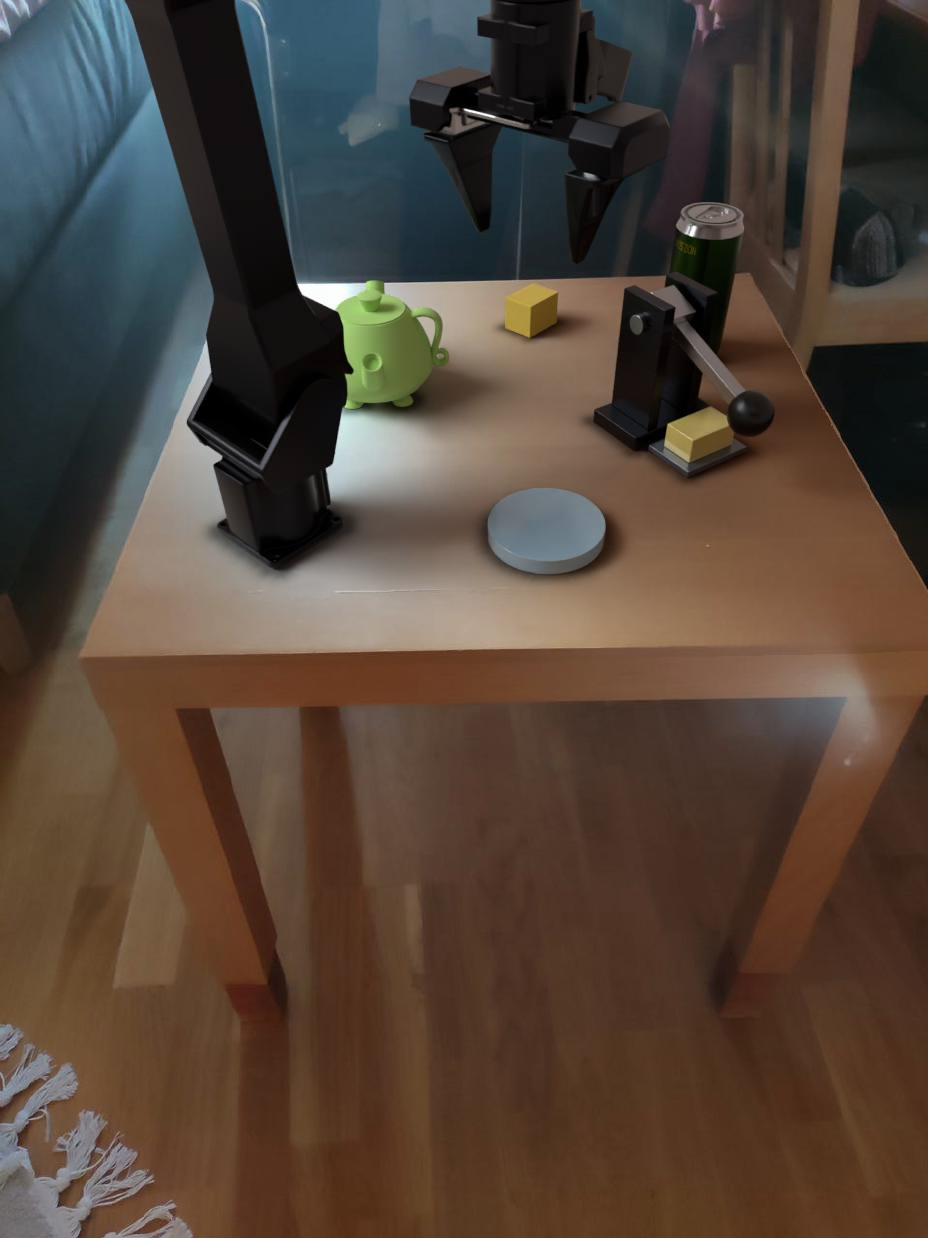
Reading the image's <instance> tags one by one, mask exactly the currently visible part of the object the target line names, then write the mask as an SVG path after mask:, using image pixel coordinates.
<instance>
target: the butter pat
mask: <svg viewBox="0 0 928 1238" xmlns="http://www.w3.org/2000/svg"><path fill="white" fill-rule="evenodd" d="M558 304H559V291H556V290H553V289H550V288H548V287H545V286H542V285H539V284H537V283H535V282H534V283H530V284H529V285H527V286H525V287H522V288H521V289H519V290H517V291H515V292H513V293H512V294H510V295H508V296H506V297H505V314H504V315H505V317H504V321H505V323H504V324H505V325H504V328H505V329H506V330H509V331H511V332H514V333H516V334H519V335H521V336H524V337H526V338H529V339H530V338H532V337H534V336H536V335H537V334H539V333H541V332H543V331H545V330H546V329H548V328H549V327H551V326H553V325H555V324H557V321H558Z"/></svg>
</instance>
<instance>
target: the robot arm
mask: <svg viewBox="0 0 928 1238" xmlns="http://www.w3.org/2000/svg"><path fill="white" fill-rule="evenodd" d="M124 3H125V4H126V7H127V9H128V11H129V13H130V16H131V18H132V22H133V25H134V29H135V33H136V35H137V38H138V43H139V46H140V49H141V52H142V55H143V59H144V62H145V66H146V69H147V73H148V76H149V80H150V82H151V85H152V89H153V91H154V92H153V93H154V96H155V100H156V103H157V106H158V110H159V112H160V117H161V120H162V123H163V126H164V130H165V133H166V137H167V140H168V143H169V146H170V150H171V153H172V157H173V160H174V163H175V168H176V171H177V173H178V177H179V180H180V181H179V182H180V184H181V187H182V191H183V194H184V197H185V199H186V200H185V201H186V204H187V208H188V211H189V214H190V217H191V220H192V223H193V228H194V231H195V234H196V238H197V241H198V244H199V248H200V251H201V255H202V258H203V262H204V265H205V267H206V271H207V275H208V279H209V282H210V284H211V289H212V294H213V295H212V296H213V301H212V306H211V310H210V314H209V319H208V323H207V327H206V332H205V339H206V347H207V353H208V359H209V360H208V361H209V368H210V374H209V375H208V377H207V379H206V380H205V384H204V385H203V386H202V389H201V391H200V393H199V396H198V397H197V399H196V401H195V402H194V405H193V407H192V409H191V411H190V412H189V415H188V417H187V419H186V425H187V427H188V428H189V430H190V431H191V433H192V434H193V435H194V437H195V438H196V439H197V440H198V441H199V443H200V444H202V445H203V446H205V447H208V448H210V449H211V450H213V451H214V452H215V453H217V454H219V455H220V456H221V459H220V460H218V461H217V462H215V463H213V464H212V466H213V471H214V474H215V478H216V483H217V486H218V490H219V493H220V498H221V501H222V505H223V509H224V513H225V516H226V517H225V518H224V519H222V520H220V521H219V522H218V523H217V524H216V528H217V531H218V532H219V533H220V534H221V535H223V536H224V537H225V538H227V539H229V540H230V541H231V542H233V544H236V545H237V546H239V547H240V548H242V549H243V550H244V551H246V552H247V553H249V554H250V555H252V556H253V557H255V558H256V559H258V560H259V561H261V562H262V563H264V564H265V565H267V566H268V567H270V568H274V569H276V568H279V567H281V566H282V565H285V564H286V563H287V562H289V561H290V560H292V559H294V558H295V557H297V556H298V555H300V554H301V553H303V552H305V551H307V549H309V548H311V547H312V546H314V545H315V544H317V543H319V542H320V541H322V540H324V539H325V538H327V537H328V536H330V535H331V534H333V533H335V532H336V531H338V530H339V529H341V528H342V527H343V526H344V524H345V522H344V517H343V516H342V515H340V514H339V513H337V512H335V511H333V510H332V509H331V508H329V507H330V506H331V505H332V497H331V492H330V491H331V490H330V484H329V478H328V472H327V469H328V468H329V467H332V466H333V464H334V461H335V455H336V449H337V444H338V443H337V442H338V439H339V431H340V425H341V420H342V413H343V408H345V407H344V406H345V405H346V402H347V396H348V389H347V379H346V375H345V374H350V375H351V374H353V373H354V369H353V368H352V366H351V365H350V363H349V362H348V359H347V356H346V353H345V346H344V327H343V324H342V321H341V318H340V315H339V313H338V312H337V311H335V309H333V308H331V307H329V306H327V305H324V304H322V303H320V302H318V301H316V300H314V299H312V298H310V297H309V296H306V295H304V294H303V293H302V291H301V290H300V286H299V285H298V281H297V276H296V272H295V268H294V263H293V259H292V254H291V251H290V245H289V241H288V236H287V232H286V228H285V227H286V226H285V223H284V219H283V214H282V209H281V205H280V200H279V196H278V192H277V191H278V190H277V185H276V182H275V178H274V173H273V169H272V163H271V159H270V156H269V150H268V147H267V142H266V141H267V140H266V138H265V132H264V128H263V124H262V119H261V114H260V110H259V107H258V105H259V104H258V102H257V101H258V100H257V97H256V93H255V88H254V87H255V86H254V83H253V79H252V74H251V70H250V64H249V59H248V55H247V52H246V46H245V43H244V38H243V33H242V29H241V24H240V20H239V16H238V9H237V6H236V5H237V4H236V0H124ZM489 3H490V5H489V6H490V13H487V14H483V15H480V16H477V17H476V30H477V33H476V34H477V37H482V38H488V39H490V72H486V71H482V70H477V69H473V68H468V67H463V66H456V67H453V68H451V69H447V70H444V71H441V72H437V73H434V74H432V75H428V76H425V77H422V78H418V79H416V82H415V84H414V86H413V87H412V90H411V92H410V93H409V94H410V95H409V96H408V101H409V102H408V103H409V115H410V117H409V118H410V126H411V127H415V128H418V129H422V130H425V131H424V132H423V133H422V136H423V140H424V142H425V143H428V144H430V145H431V146H432V148H433V149H434V151H435V154H437V156H438V158H439V160H440V162H441V164H442V165H443V167H444V168H445V171H446V172H447V174H448V175H449V177H450V179H451V181H452V183H453V185H454V187H455V189H456V191H457V193H458V196H459V197H460V199H461V201H462V203H463V206H464V207H465V210H466V211H467V214H468V215H469V218H470V220H471V222H472V223H473V225H474V228H475V230H476V231H477V232H478V233H484V232H486V231H489V229H490V228H491V219H492V211H493V165H494V164H493V162H494V161H493V157H494V156H493V154H494V149H495V145H496V144H497V141H498V139H499V136H500V133H501V131H502V129H503V128H506V129H510V130H512V131H513V130H514V131H518V132H521V133H525V134H529V135H534V136H538V137H542V138H545V139H548V140H549V139H550V140H553V141H558V142H560V143H561V142H562V143H566V144H567V147H568V148H567V156H568V158H569V159H570V161H571V163H572V165H573V166H574V168H572V169H570V170H568V171H565V172H564V174H563V180H564V194H565V208H566V209H565V210H566V223H567V239H568V249H569V254H570V260H571V263H572V264H574V265H579V264H580V263H583V262H584V261H585V260H586V258H587V256H588V253H589V251H590V250H591V246H592V245H593V242H594V240H595V237H596V235H597V233H598V230H599V228H600V226H601V223H602V221H603V219H604V216H605V215H606V212H607V211H608V207H609V205H610V204H611V201H612V200H613V198H614V196H615V195H616V193H617V191H618V189H619V188H620V187H621V185H622V184H623V183H624V182H625V180H626V179H627V178H630V177H631V176H634V175H637V174H638V173H640V172H642V171H644V170H645V169H646V168H648V167H650V166H653V165H654V164H657V163H658V162H660V161H662V160H665V159H667V158H668V157H669V148H670V139H671V132H672V130H671V129H672V128H671V126H670V122H669V120H668V118H667V115H666V114H665V112H664V110H663V109H658V108H653V107H650V106H644V105H641V104H635V103H631V102H625V101H622V98H623V95H624V91H625V88H626V83H627V80H628V76H629V72H630V68H631V64H632V61H633V56H634V51H632V50H629V49H627V48H624V47H622V46H619V45H616V44H614V43H612V42H609V41H607V40H603V39H599V38H597V37H596V34H595V31H596V19H595V16H594V9H588V8H582V5H583V1H582V0H490V2H489ZM597 96H600V97H603V98H606V100H607V101H608V102H610V103H611V102H612V103H611V104H609V105H605V106H603V107H601V108H598V109H595V110H594V111H591V112H588V113H587V112H583V111H579V110H576V106H577V105H579V104H583V105H588V104H590V103H593V102H595V101H597ZM550 121H551V122H550Z"/></svg>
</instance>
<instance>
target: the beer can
mask: <svg viewBox="0 0 928 1238" xmlns="http://www.w3.org/2000/svg"><path fill="white" fill-rule="evenodd" d="M744 216H745V214H744V213H743V211H742V210H740V208H738V207H735V206H733V205H731V204H726V203H722V202H713V201H711V202H710V201H707V202H705V201H704V202H703V201H701V202H695V203H691V204H688V205H686V206H684V207H683V208H682V209H681V211H680V216H679V218H678V220H677V222H676V224H675V228H674V237H673V242H672V249H671V256H670V264H669V270H668V274H670V273H673V272H678V273H680V274H682V275H684V276H686V277H688V278H690V279H692V280H694V281H696V282H698V283H700V284H702V285H704V286H706V287H708V288H710V289H712V290H714V291H716V292H718V295H717V300H716V306H715V311H714V316H713V322H712V327H711V332H710V338H709V343H708V347H709V348H710V349H711V350H712V351H713V353H714V354H715V355H716V356H717V355H718V354H719V353H720V351H721V347H722V342H723V337H724V332H725V328H726V322H727V318H728V317H727V316H728V312H729V309H730V308H729V307H730V302H731V297H732V293H733V288H734V282H735V276H736V271H737V267H738V262H739V258H740V253H741V246H742V242H743V237H744V232H745V226H744V222H743V220H744V218H745V217H744Z"/></svg>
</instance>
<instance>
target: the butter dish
mask: <svg viewBox="0 0 928 1238" xmlns="http://www.w3.org/2000/svg"><path fill="white" fill-rule="evenodd" d="M734 437H735V432H734V431H733V430H732V429H731V428H730V426H729V424H728V421H727V415H726V414H724V413H722V412H721V411H719V410H717V409H716V408H714V407H713V406H712V407H708V408H705V409H703V410H700V411H698V412H695V413H693V414H690V415H688V416H686V417H683V418H681V419H678V420H676V421H673V422H671V423H668V425H667V431H666V437H665V438H663V439H661V440H659V441H656V442H654V443H651V444H649V445H648V451H649V452H650V453H651V454H652V455H655V457H657V458H659V459H660V460H661V461H663V462H665V463H666V464H667V465H669V466H670V467H672V468H673V469H674V470H676V471H678V472H679V473H680V474H681V475H683V476H684V477H685V478H689V477H691V476H694V475H696V474H699V473H701V472H703V471H706V470H707V469H710V468H713V467H715V466H716V465H719V464H722V463H723V462H725V461H726V462H727V461H728V460H731V459H733V458H735V457H737V456H739V455H742V454H743V453H746V452H747V447H748V446H746V445H745V444H744V443H742V442H740V441H739V440H737V439H736V438H734Z"/></svg>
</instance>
